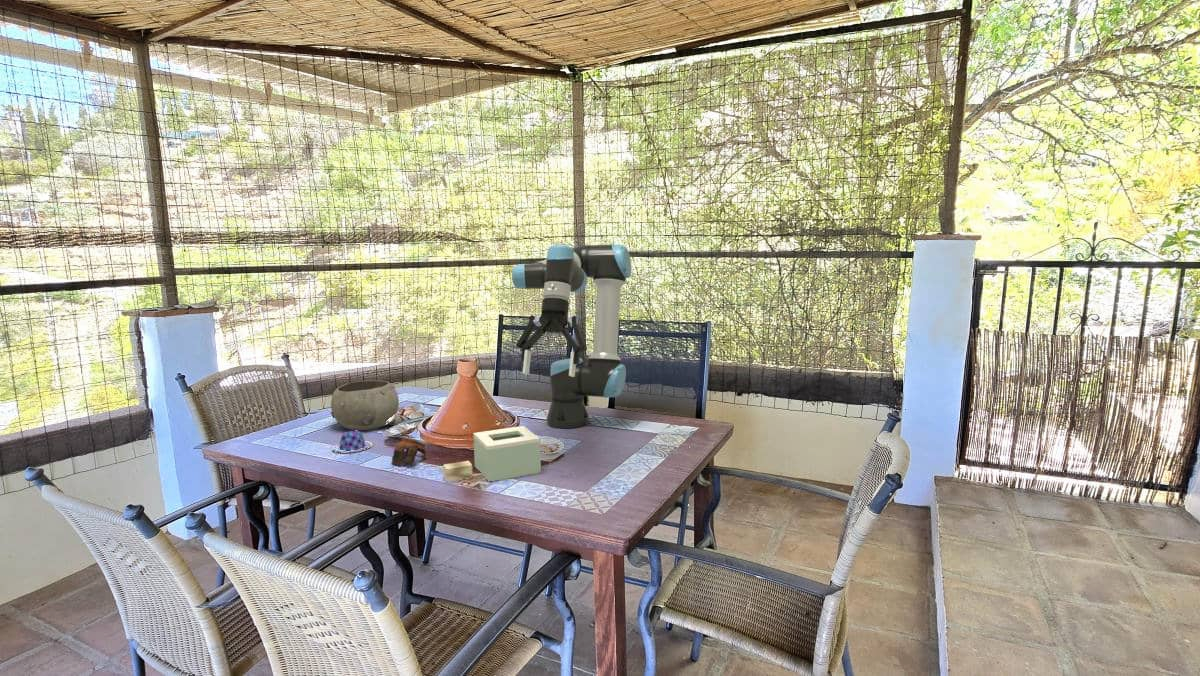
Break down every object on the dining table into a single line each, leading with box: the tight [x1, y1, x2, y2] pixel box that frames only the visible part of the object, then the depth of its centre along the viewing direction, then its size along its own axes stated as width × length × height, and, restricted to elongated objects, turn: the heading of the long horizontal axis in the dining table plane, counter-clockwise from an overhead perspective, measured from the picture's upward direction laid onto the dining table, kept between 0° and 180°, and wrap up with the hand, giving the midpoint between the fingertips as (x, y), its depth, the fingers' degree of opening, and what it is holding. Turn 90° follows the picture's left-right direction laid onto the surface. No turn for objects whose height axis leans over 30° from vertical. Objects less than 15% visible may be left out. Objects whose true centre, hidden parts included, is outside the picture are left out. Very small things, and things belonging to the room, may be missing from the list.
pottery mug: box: [391, 437, 427, 466], centre depth 181 cm, size 12×10×8 cm
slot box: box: [472, 425, 542, 483], centre depth 173 cm, size 15×14×10 cm
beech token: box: [442, 460, 474, 483], centre depth 167 cm, size 7×4×4 cm, turn 116°
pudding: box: [332, 430, 373, 454], centre depth 195 cm, size 12×12×5 cm
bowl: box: [330, 379, 400, 431], centre depth 220 cm, size 23×23×15 cm
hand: (548, 375), depth 167 cm, fingers open, 13 cm apart
